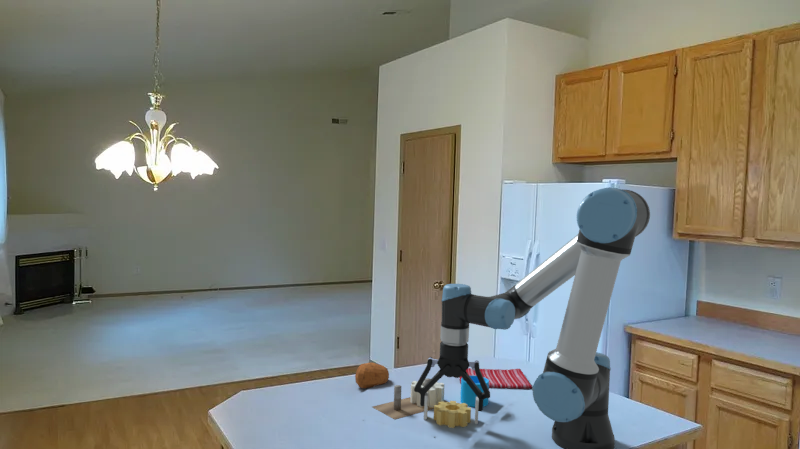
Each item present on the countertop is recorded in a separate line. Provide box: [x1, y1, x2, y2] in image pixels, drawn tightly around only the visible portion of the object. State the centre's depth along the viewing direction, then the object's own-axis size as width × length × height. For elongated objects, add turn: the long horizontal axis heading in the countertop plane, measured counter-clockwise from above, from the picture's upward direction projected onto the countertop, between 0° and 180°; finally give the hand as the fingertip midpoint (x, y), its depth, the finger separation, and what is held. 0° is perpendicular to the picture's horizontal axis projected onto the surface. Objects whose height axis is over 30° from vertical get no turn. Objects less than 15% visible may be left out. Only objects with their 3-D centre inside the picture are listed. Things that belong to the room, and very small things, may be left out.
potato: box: [354, 362, 390, 389], centre depth 178 cm, size 9×11×8 cm
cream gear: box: [410, 380, 445, 408], centre depth 162 cm, size 10×10×5 cm
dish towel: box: [458, 367, 533, 390], centre depth 188 cm, size 17×24×3 cm
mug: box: [460, 376, 490, 408], centre depth 164 cm, size 12×8×8 cm
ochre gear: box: [433, 400, 472, 429], centre depth 148 cm, size 10×10×5 cm
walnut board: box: [372, 377, 449, 420], centre depth 158 cm, size 11×21×8 cm, turn 127°
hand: (450, 420), depth 148 cm, fingers open, 13 cm apart
